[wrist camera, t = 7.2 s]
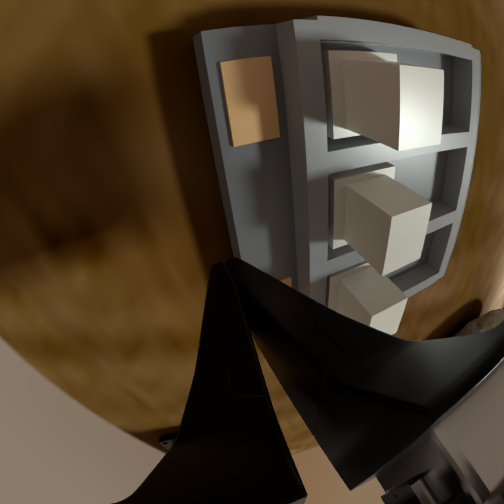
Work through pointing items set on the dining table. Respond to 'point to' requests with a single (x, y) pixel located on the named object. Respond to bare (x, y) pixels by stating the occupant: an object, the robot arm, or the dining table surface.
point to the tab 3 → (366, 297)
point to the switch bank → (325, 143)
